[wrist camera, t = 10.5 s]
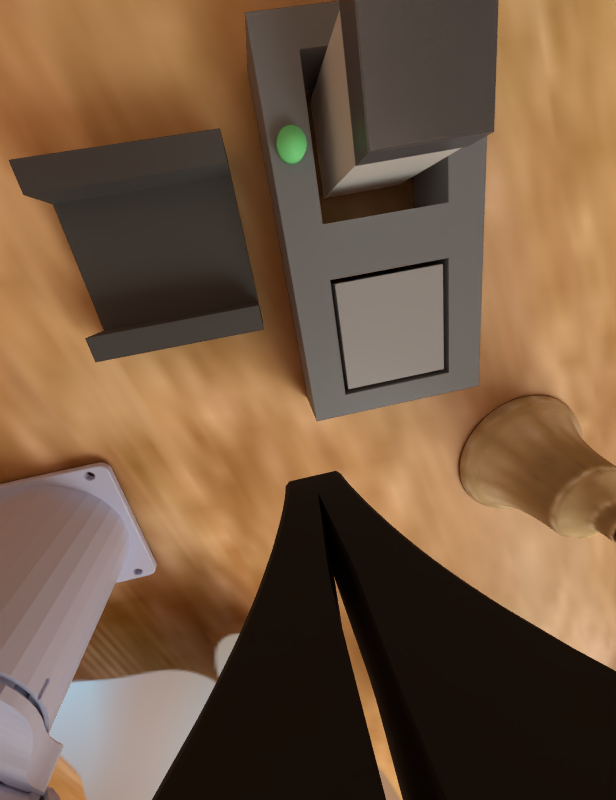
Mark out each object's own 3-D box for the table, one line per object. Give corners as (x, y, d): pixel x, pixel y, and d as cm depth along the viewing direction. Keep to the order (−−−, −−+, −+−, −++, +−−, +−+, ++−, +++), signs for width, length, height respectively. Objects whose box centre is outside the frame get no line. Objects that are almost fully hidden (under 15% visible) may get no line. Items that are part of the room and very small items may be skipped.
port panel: (307, 398, 18) (318, 424, 15) (247, 67, 13) (244, 2, 10) (445, 368, 19) (483, 388, 16) (443, 40, 13) (500, -29, 10)
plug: (322, 199, 15) (367, 153, 9) (308, 99, 13) (351, -38, 8) (399, 186, 15) (494, 131, 9) (393, 86, 14) (500, -57, 8)
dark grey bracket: (117, 349, 16) (95, 362, 14) (49, 178, 13) (8, 160, 11) (262, 321, 16) (263, 329, 14) (225, 151, 14) (219, 128, 11)
